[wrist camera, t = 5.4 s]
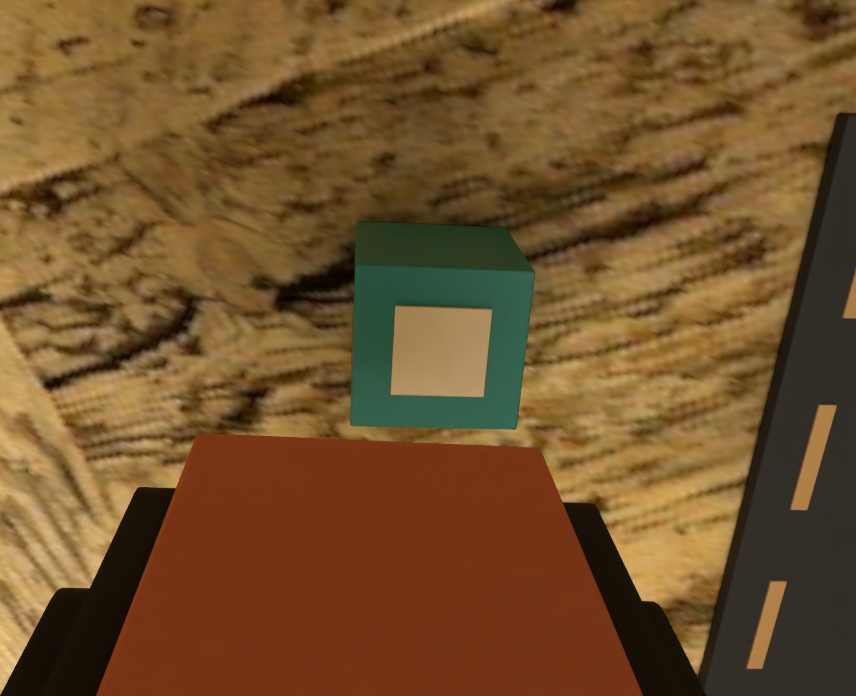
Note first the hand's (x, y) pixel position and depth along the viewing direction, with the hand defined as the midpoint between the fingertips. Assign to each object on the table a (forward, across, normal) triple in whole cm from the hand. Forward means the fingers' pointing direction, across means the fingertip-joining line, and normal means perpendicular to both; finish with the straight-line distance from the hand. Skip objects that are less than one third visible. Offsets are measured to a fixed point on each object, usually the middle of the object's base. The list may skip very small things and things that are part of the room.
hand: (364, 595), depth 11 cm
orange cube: (0, 0, 0) cm, 0 cm away
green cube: (+15, -2, 0) cm, 15 cm away
